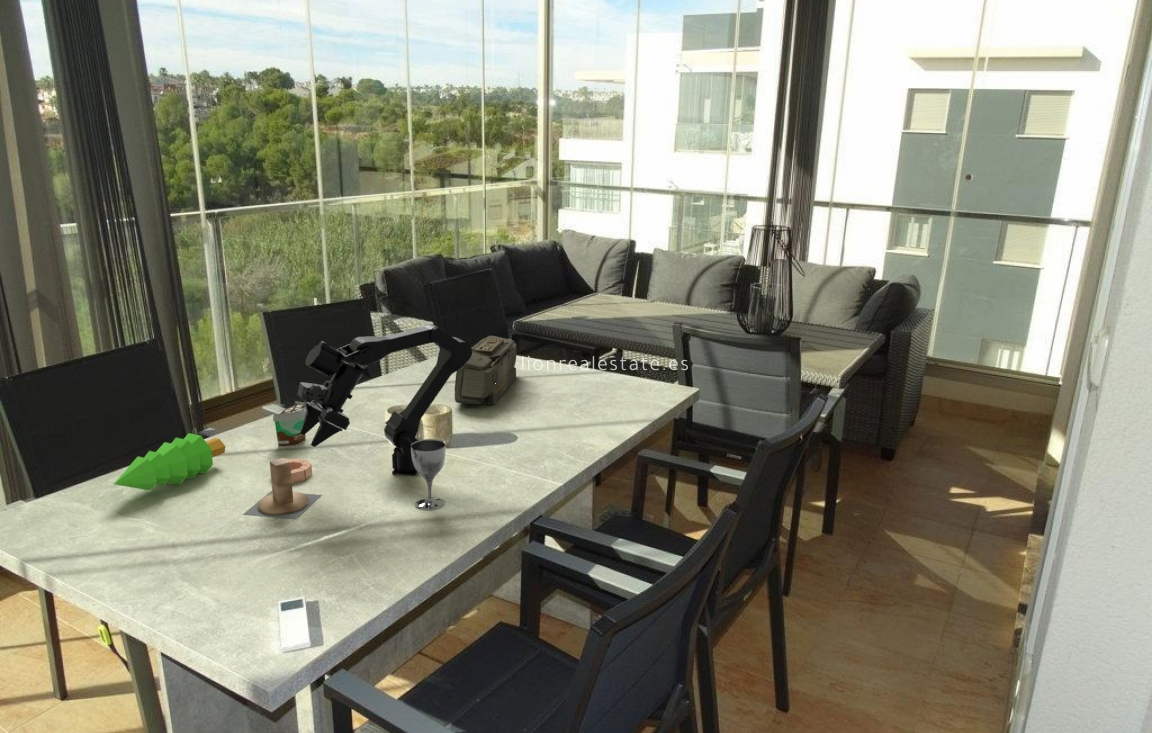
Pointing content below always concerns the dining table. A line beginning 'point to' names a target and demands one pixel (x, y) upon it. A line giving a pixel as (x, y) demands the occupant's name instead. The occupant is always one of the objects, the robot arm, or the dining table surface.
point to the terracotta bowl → (300, 469)
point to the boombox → (487, 372)
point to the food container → (290, 425)
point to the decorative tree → (172, 462)
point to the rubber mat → (256, 512)
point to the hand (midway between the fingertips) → (307, 440)
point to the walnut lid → (282, 491)
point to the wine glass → (428, 468)
